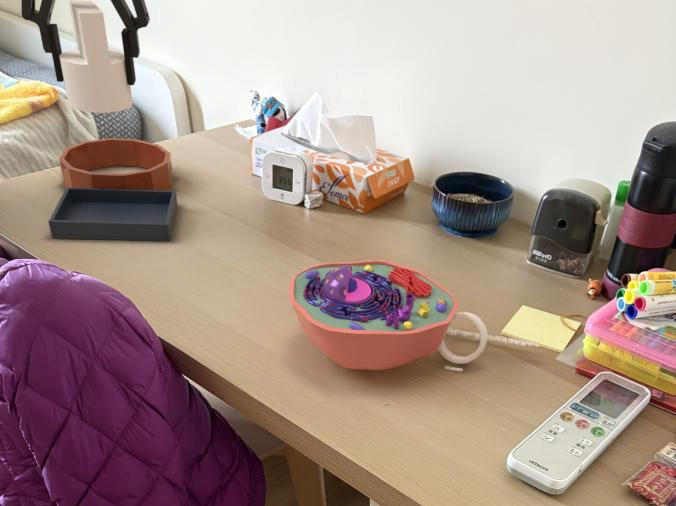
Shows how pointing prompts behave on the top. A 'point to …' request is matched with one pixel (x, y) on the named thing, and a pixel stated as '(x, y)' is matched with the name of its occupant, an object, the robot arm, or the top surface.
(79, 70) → the base with upright slab
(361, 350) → the cell model
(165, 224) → the tray
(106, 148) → the terracotta bowl
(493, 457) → the top surface
